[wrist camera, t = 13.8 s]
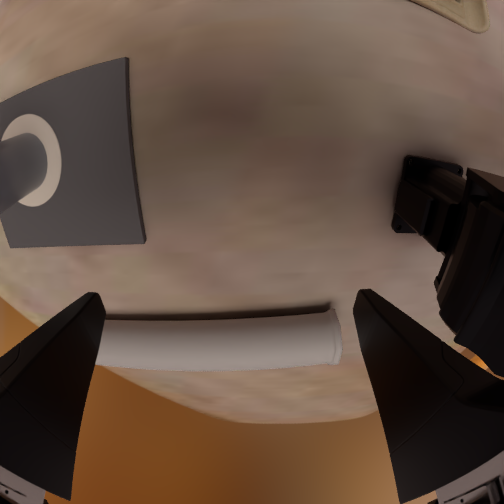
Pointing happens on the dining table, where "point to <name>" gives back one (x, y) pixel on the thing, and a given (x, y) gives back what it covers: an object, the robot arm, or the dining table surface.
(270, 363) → the tube
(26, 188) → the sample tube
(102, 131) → the mat
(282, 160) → the dining table surface
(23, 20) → the dining table surface
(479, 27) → the wooden puzzle
